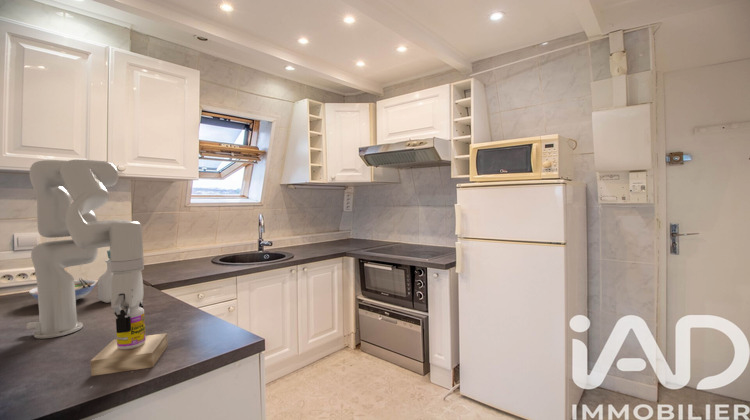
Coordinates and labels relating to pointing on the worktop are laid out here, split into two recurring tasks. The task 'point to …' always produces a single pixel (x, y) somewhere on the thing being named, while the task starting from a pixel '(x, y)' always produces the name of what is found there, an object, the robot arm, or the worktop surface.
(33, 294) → the ramen bowl
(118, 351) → the block
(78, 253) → the robot arm
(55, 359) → the worktop surface
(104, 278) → the soap bottle
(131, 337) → the supplement bottle
